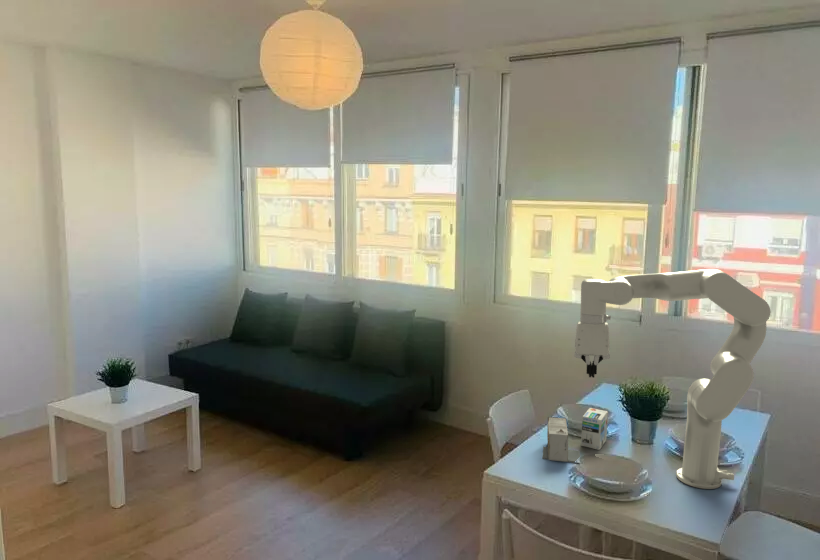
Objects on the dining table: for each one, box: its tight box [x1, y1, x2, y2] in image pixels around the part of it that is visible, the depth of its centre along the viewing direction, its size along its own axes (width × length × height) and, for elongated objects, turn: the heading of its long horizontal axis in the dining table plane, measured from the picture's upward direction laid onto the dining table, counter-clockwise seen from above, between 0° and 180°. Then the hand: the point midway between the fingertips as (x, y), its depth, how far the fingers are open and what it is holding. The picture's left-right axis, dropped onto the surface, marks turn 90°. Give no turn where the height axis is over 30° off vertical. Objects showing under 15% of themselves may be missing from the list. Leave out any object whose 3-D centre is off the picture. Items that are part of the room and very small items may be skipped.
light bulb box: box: [580, 407, 609, 451], centre depth 212 cm, size 11×7×11 cm, turn 150°
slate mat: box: [541, 446, 581, 464], centre depth 202 cm, size 12×9×1 cm
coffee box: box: [546, 416, 569, 462], centre depth 203 cm, size 9×6×16 cm
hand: (591, 376), depth 191 cm, fingers closed
